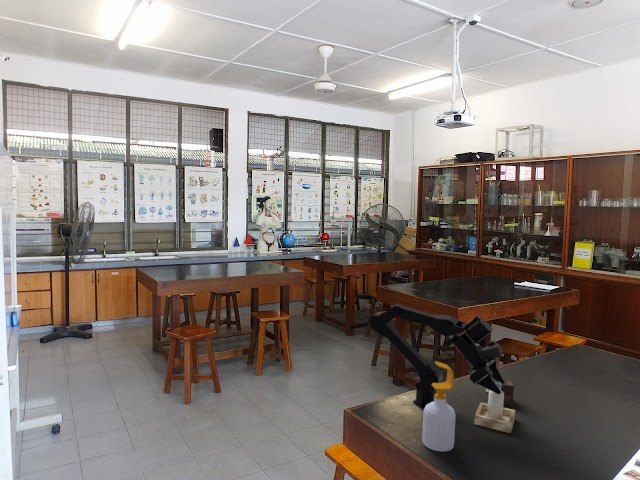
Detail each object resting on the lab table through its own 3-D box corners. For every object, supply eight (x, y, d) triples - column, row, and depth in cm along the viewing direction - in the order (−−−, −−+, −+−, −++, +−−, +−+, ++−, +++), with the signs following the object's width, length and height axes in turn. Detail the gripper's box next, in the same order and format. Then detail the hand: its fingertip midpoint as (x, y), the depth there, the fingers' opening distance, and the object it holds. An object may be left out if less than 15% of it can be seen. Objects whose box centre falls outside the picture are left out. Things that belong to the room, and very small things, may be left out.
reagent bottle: (495, 422, 145) (497, 386, 144) (484, 416, 149) (486, 381, 148) (505, 420, 147) (507, 384, 146) (493, 414, 151) (496, 379, 150)
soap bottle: (418, 436, 137) (422, 357, 135) (447, 435, 138) (451, 357, 136) (427, 452, 128) (431, 369, 126) (458, 452, 129) (463, 368, 127)
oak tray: (474, 424, 146) (474, 415, 145) (480, 410, 155) (480, 402, 155) (510, 433, 140) (511, 424, 140) (514, 418, 150) (515, 410, 150)
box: (513, 406, 160) (514, 386, 159) (495, 404, 161) (496, 384, 160) (509, 398, 166) (510, 379, 165) (492, 396, 167) (493, 377, 166)
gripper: (482, 342, 139) (519, 385, 135) (491, 328, 155) (524, 365, 151) (455, 362, 144) (490, 404, 139) (466, 346, 160) (498, 383, 156)
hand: (501, 388), depth 146 cm, fingers open, 9 cm apart
